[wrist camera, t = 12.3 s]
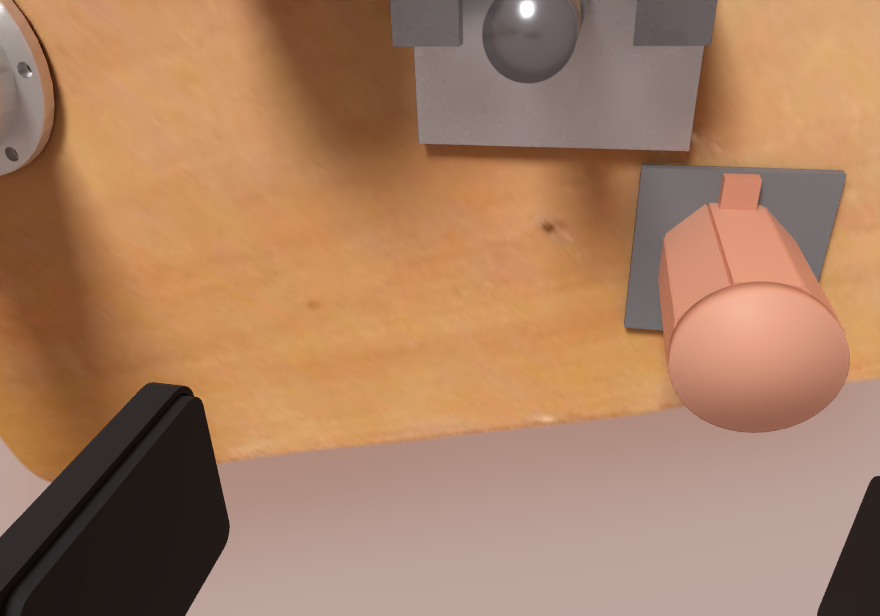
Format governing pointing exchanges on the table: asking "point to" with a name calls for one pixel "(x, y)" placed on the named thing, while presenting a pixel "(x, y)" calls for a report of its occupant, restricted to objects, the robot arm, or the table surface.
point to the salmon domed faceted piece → (746, 317)
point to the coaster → (690, 187)
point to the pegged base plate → (556, 70)
